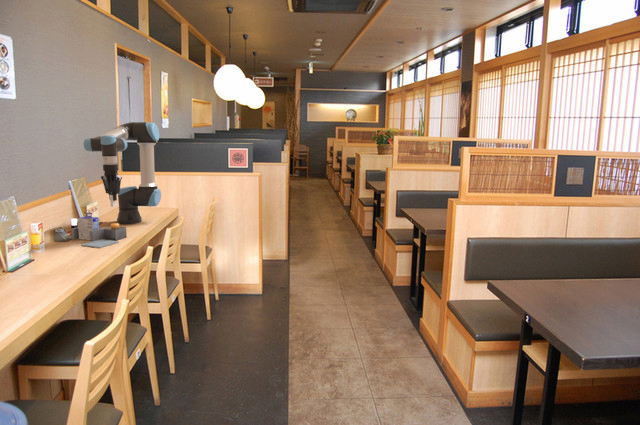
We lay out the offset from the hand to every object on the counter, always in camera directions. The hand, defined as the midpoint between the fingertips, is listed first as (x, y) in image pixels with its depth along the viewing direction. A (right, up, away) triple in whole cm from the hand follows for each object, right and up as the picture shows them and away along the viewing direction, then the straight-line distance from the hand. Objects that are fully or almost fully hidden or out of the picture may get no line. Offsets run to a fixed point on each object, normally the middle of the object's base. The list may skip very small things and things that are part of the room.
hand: (113, 206), depth 261 cm
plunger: (0, -16, +3) cm, 17 cm away
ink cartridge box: (-14, -19, +2) cm, 24 cm away
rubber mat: (-3, -21, -10) cm, 23 cm away
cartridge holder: (-14, -18, +2) cm, 23 cm away
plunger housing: (0, -18, +3) cm, 18 cm away
